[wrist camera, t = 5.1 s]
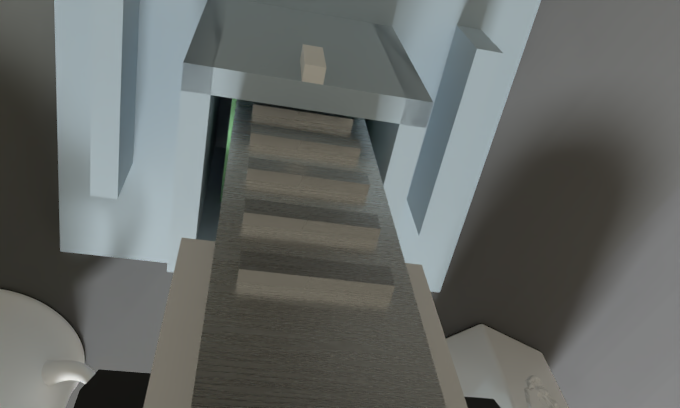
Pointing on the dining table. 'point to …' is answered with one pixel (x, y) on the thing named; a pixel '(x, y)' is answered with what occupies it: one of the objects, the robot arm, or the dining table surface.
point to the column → (308, 274)
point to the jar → (503, 370)
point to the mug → (37, 355)
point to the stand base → (278, 89)
